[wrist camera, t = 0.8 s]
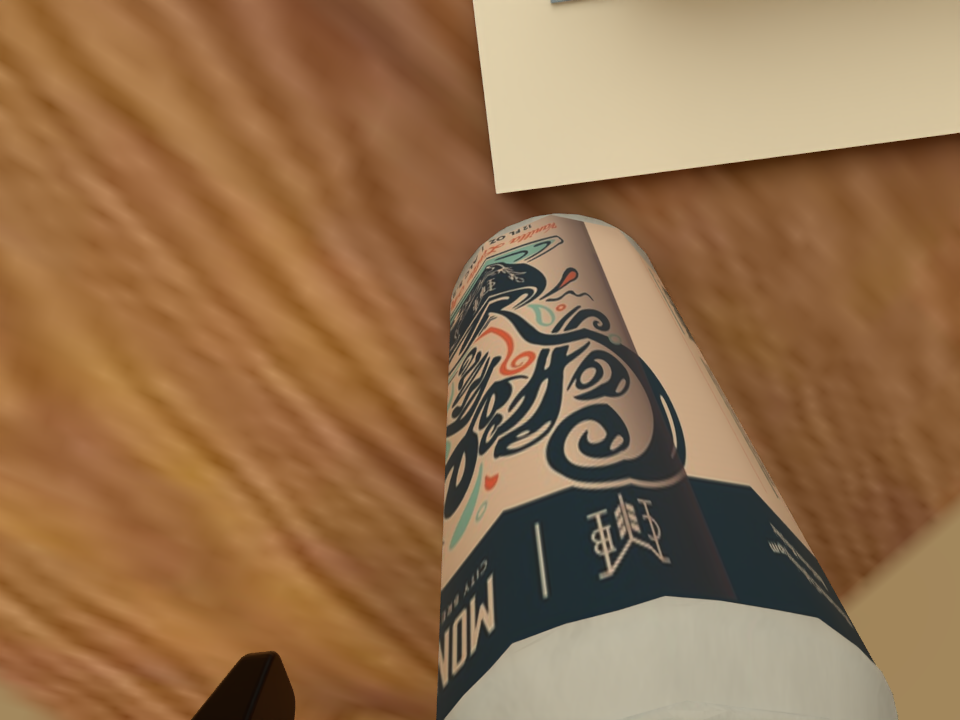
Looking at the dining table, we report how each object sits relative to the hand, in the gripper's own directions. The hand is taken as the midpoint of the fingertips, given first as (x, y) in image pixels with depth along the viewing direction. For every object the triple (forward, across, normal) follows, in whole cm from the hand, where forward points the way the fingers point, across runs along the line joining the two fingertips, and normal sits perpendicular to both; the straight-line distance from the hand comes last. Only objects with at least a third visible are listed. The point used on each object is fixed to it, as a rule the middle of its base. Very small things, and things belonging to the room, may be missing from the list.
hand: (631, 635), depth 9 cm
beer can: (+10, 0, 0) cm, 10 cm away
